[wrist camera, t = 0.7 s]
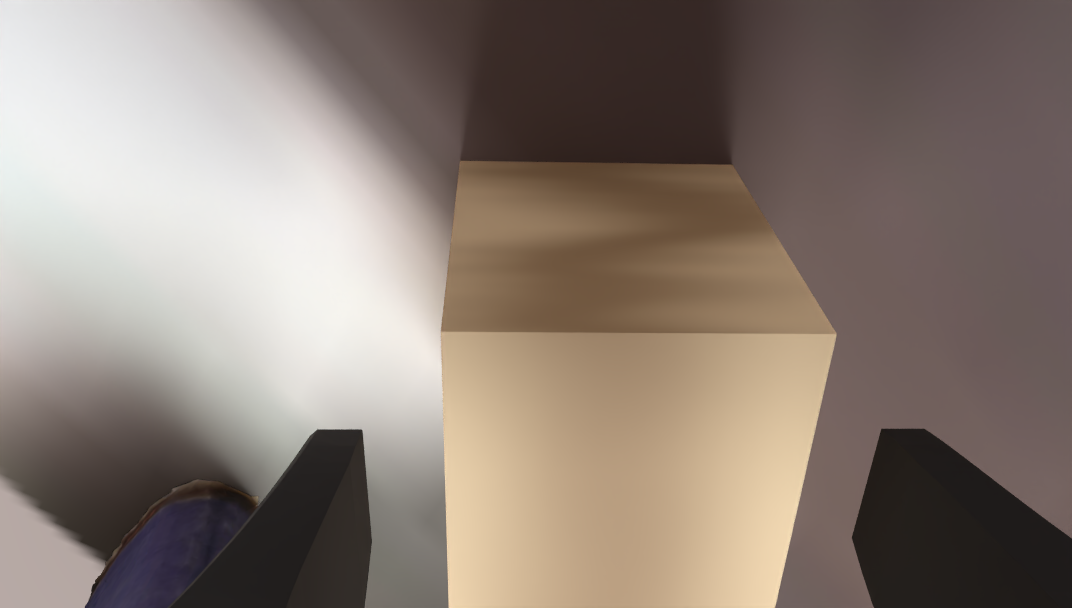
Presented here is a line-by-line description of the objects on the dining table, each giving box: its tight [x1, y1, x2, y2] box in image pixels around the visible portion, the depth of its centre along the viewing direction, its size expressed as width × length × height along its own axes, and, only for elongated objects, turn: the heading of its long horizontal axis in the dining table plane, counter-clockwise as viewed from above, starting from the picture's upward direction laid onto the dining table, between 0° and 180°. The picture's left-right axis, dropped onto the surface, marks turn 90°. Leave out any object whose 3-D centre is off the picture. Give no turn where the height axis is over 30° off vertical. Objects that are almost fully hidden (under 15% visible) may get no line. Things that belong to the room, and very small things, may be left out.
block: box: [441, 161, 837, 608], centre depth 15 cm, size 5×5×6 cm
